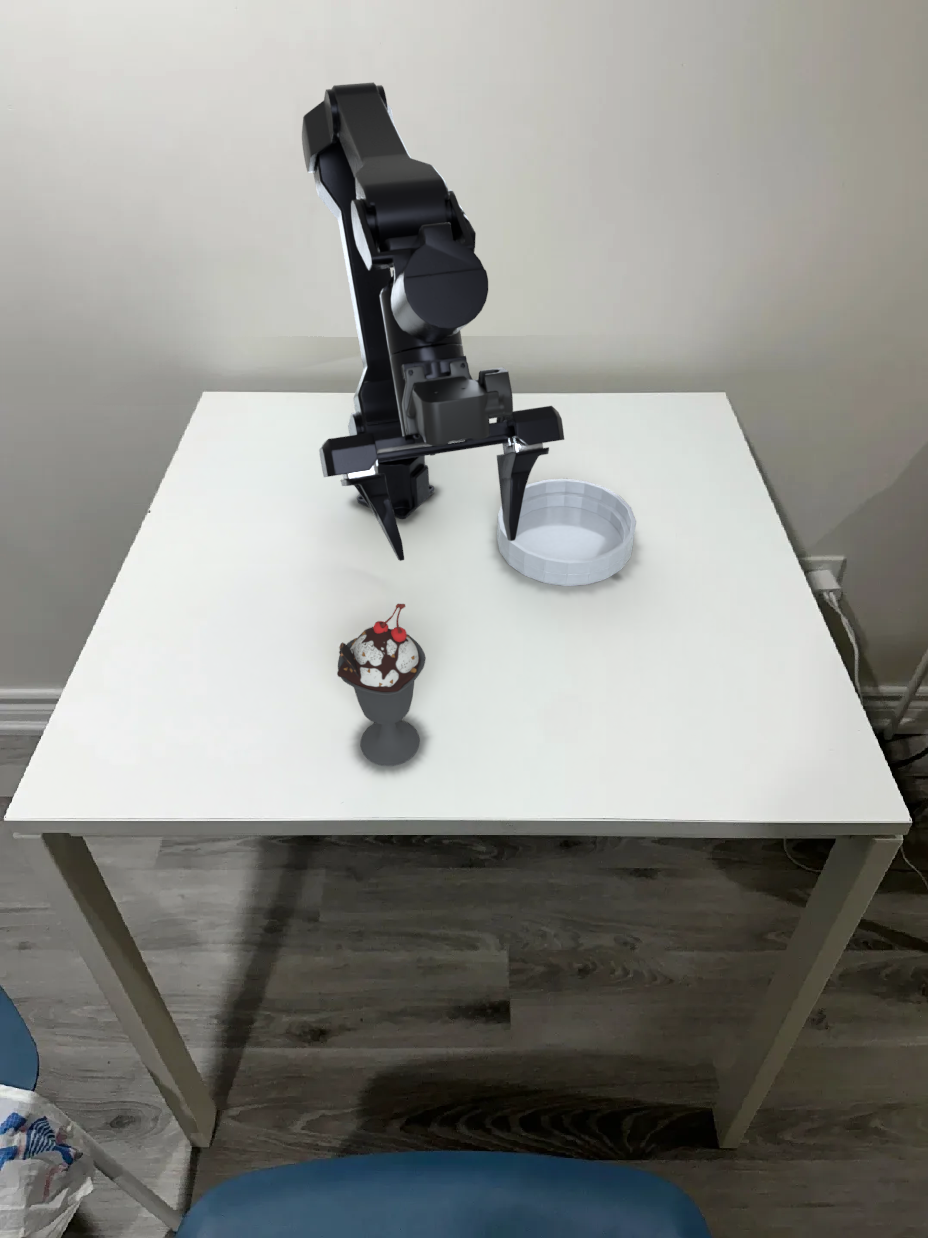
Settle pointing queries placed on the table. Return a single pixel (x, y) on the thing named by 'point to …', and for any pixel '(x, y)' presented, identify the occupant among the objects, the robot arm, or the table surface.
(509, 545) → the pan
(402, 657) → the sundae
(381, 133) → the robot arm
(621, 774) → the table surface
